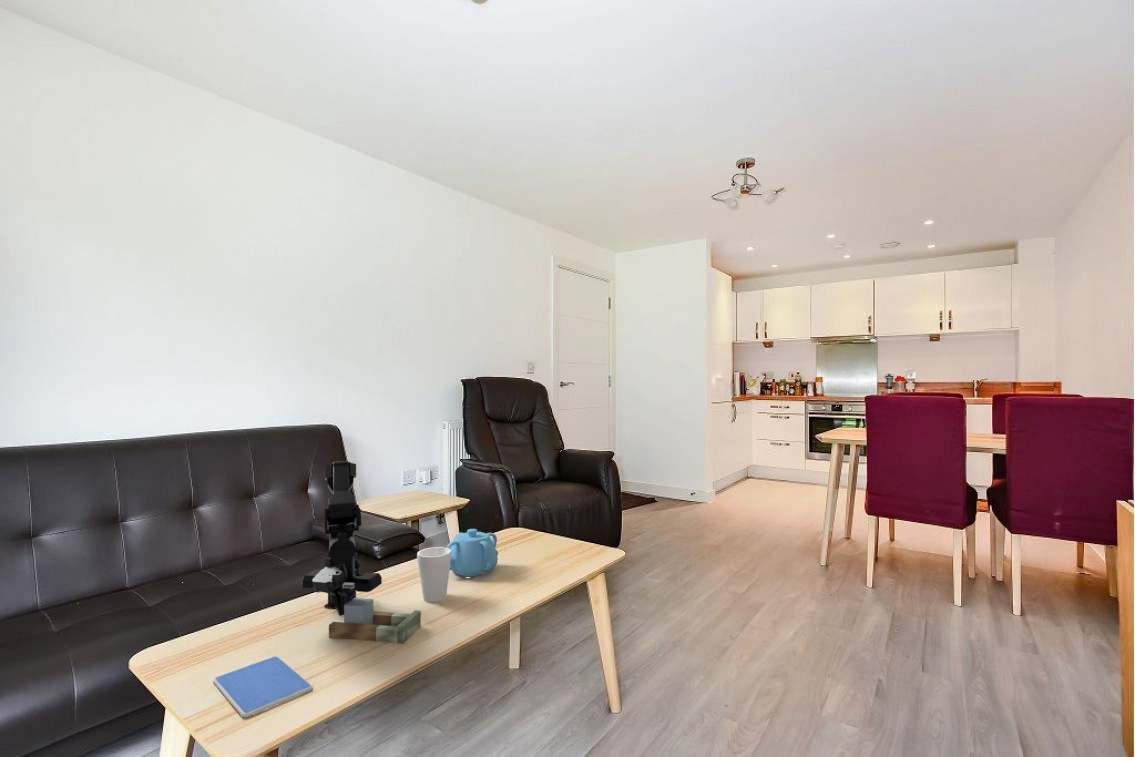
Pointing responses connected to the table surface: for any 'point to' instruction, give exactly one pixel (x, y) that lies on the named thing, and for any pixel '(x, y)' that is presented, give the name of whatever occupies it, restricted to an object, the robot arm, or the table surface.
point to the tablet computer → (261, 686)
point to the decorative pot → (473, 553)
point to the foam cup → (434, 572)
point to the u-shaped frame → (379, 628)
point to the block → (359, 611)
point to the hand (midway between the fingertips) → (342, 615)
